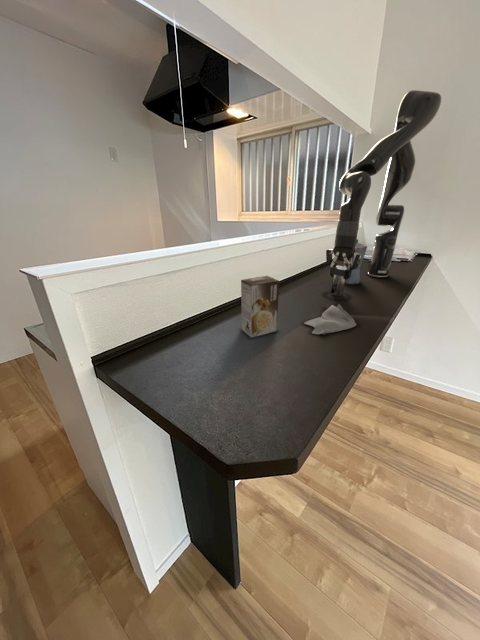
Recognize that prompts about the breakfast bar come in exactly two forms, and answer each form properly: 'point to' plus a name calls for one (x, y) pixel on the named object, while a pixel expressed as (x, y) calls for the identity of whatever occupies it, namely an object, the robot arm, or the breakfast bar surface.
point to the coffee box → (259, 305)
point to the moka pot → (356, 272)
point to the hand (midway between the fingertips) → (339, 277)
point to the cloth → (332, 321)
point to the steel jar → (338, 280)
